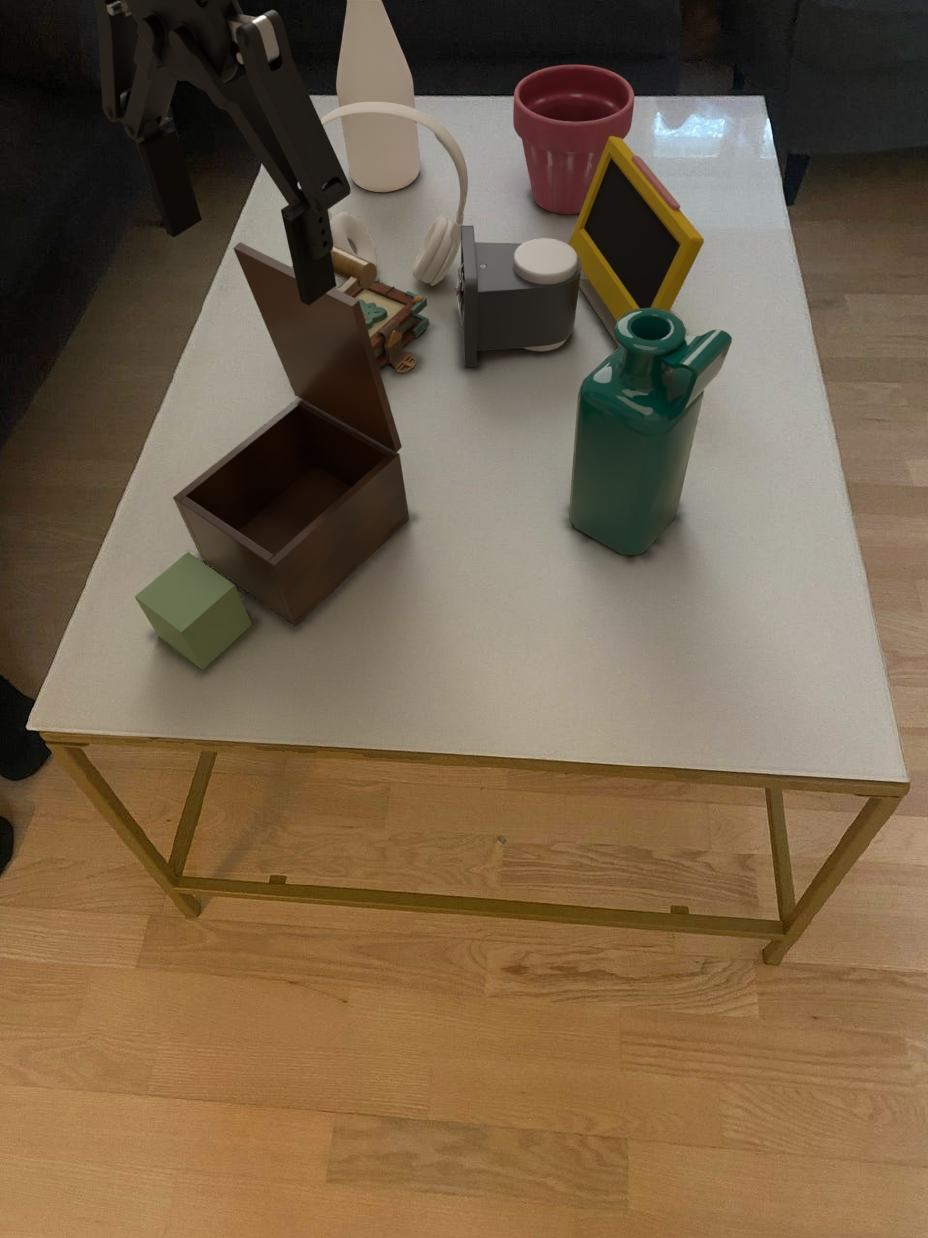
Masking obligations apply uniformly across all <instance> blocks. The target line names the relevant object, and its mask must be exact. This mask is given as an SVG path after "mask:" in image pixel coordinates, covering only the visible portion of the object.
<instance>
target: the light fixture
mask: <svg viewBox="0 0 928 1238" xmlns="http://www.w3.org/2000/svg"><path fill="white" fill-rule="evenodd" d="M475 240H476V238H475V227H474V225H462V226H461V243H460V266H459V267H458V269H457V285H456V287H455V288H454V290H455V292H456V304H457V312H458V318H459V319H458V320H460V324H461V333H462V351H463V353H462V354H463V366H464V367H477V361H478V360H477V356H478V351H491V350H506V349H519V348H520V349H521V348H523V349H524V350H528V351H532V352H548V351H553V350H555V349H559V348H560V347H561V346H562V345H564V344H565V343H566V342H567V340H568V338H570V337H571V335H572V334H573V332H574V329H575V322H576V314H577V306H578V299H579V290H580V287H579V286H580V280H581V275H582V268H581V263H580V260H579V258H578V257H577V253H576V252H575V250H574V249H573V248H572V247H571V246H570V245H568V244H569V243H566V242H564V241H562V240H559V239H555V238H549V237H540V238H534V239H529V240H527V241H525V242H523V243H521V242H520V243H519V242H482V241H480V242H479V241H478V242H476V241H475Z"/></svg>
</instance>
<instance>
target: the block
mask: <svg viewBox="0 0 928 1238" xmlns="http://www.w3.org/2000/svg"><path fill="white" fill-rule="evenodd" d="M134 598H135V600H136V602H137V603H138V605H139V607H140V608H141V611H142V612H143V613H144V615H145V616H146V618H147V620H148V622H149V623H150V626H151V627H152V628H153V630H154V631H155V633H156V635H157V637H159V638H160V639H161V640H163V641H164V642H165V643H167V644H168V645H169V646H171V647H172V648H173V649H174V650H176V651H177V652H178V653H179V654H181V655H182V656H183V657H185V658H186V659H187V660H189V661H190V662H191V663H193V664H194V665H195V666H196V667H198V668H199V669H200V670H202V671H203V670H204V669H206V668H207V667H208V666H209V665H210V664H211V663H212V662H213V661H214V660H216V658H217V657H218V656H220V655H221V654H222V653H223V652H224V651H225V650H227V648H228V647H230V646H231V645H232V644H233V643H234V642H235V641H236V640H237V639H238V638H239V637H240V636H242V634H244V633H245V632H246V631H247V630H248V629H249V628H250V627H251V626H253V623H252V621H251V619H250V616H249V613H248V612H247V610H246V608H245V607H246V606H245V605H244V602H243V600H242V598H241V595H240V592H239V591H238V589H237V586H236V584H234V582H232V581H231V580H230V579H228V578H227V577H224V575H223V574H221V573H220V572H218V571H217V570H215V569H214V568H213V567H212V568H211V566H210V565H208V564H207V563H206V562H204V561H203V560H200V559H199V558H197V556H195V555H194V554H192V553H190V552H189V551H187V552H186V553H184V555H182V556H181V557H180V558H178V560H177V561H176V562H174V563H173V564H172V565H170V566H169V567H168V568H167V569H166V570H164V571H163V572H162V573H161V574H160V575H159V576H157V577H156V578H155V579H154V580H152V581H151V582H150V583H149V584H148V585H147V586H145V587H144V588H143V589H142V590H141V591H139V592H138V593H137V594H135V595H134Z"/></svg>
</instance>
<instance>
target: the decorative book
mask: <svg viewBox="0 0 928 1238" xmlns="http://www.w3.org/2000/svg"><path fill="white" fill-rule="evenodd" d="M350 296H351V297H353V298H355V299H357V300H359V302H360V305H361V309H362V312H363V316H364V319H365V322H366V326H367V329H368V333H369V336H370V339H371V343H372V346H373V350H374V353H375V357H376V360H377V363H378V367H379V370H380V369H381V368H382V367H383V366H384V365H389V364H390V365H391V366H392V367H393V368H395V372H397V373H399V374H405V373H408V372H409V371H410V370H412V369H414V368H415V366H416V365H417V362H418V358H416V357H415V356H413V355H412V354H410V353H409V354H407V353H406V352H405V351H404V348H403V347H405V346H406V345H407V344H408V343H409V342H410V341H411V340H412V339H413V338H417V337H419V335H420V334H422V333H423V332H424V331H425V330H426V329H427V328H428V327H429V326H430V318H428V317H425V316H423V315H421V314H420V313H421V312H422V311H423V310H424V309H425V308H427V306H428V300H427V299H428V298H427V297H424V296H422V295H419V294H416V293H414V292H411V291H409V290H407V291H403V290H401V289H398V288H396V287H395V286H391V285H388V284H385V283H383V282H381V280H380V279H378V278H377V277H376V279H375V282H374V283H373V285H372V286H371V287H369V288H367V289H363V288H361V287H359V288H358V289H357V290H355V291H354V292H353V293H352V294H351V295H350ZM411 360H413V363H411ZM405 366H406V367H408V368H407V369H405V370H402V369H403V368H405Z"/></svg>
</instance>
